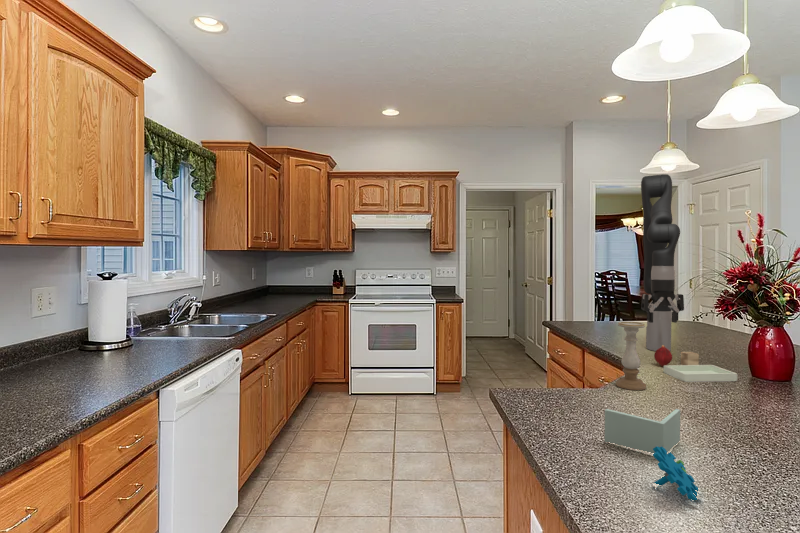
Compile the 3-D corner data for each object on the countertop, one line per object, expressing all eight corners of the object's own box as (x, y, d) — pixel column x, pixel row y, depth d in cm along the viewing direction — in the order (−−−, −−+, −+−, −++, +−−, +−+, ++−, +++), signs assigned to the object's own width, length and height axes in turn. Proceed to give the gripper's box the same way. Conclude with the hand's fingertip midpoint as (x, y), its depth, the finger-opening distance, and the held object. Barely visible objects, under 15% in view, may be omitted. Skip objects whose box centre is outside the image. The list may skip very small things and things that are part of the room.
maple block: (680, 365, 172) (681, 351, 172) (691, 364, 172) (691, 351, 172) (687, 367, 168) (688, 354, 168) (698, 367, 168) (698, 354, 168)
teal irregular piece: (699, 505, 75) (653, 449, 80) (669, 522, 77) (626, 466, 83) (709, 488, 83) (666, 438, 88) (681, 503, 86) (642, 454, 91)
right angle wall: (679, 442, 103) (680, 409, 103) (663, 459, 95) (663, 424, 95) (624, 428, 112) (624, 397, 112) (604, 442, 104) (604, 409, 103)
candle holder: (624, 390, 141) (625, 325, 140) (610, 382, 150) (610, 321, 149) (652, 390, 141) (653, 325, 141) (636, 382, 150) (637, 320, 150)
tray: (663, 372, 162) (663, 365, 162) (712, 371, 162) (712, 364, 162) (684, 381, 150) (684, 374, 150) (737, 381, 151) (737, 373, 151)
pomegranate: (675, 368, 167) (675, 346, 167) (659, 368, 167) (659, 346, 167) (666, 364, 173) (666, 343, 173) (651, 364, 173) (651, 343, 173)
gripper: (676, 278, 171) (676, 321, 172) (638, 277, 172) (637, 320, 172) (688, 278, 164) (688, 323, 164) (648, 278, 164) (647, 323, 165)
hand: (662, 322), depth 168 cm, fingers open, 8 cm apart
